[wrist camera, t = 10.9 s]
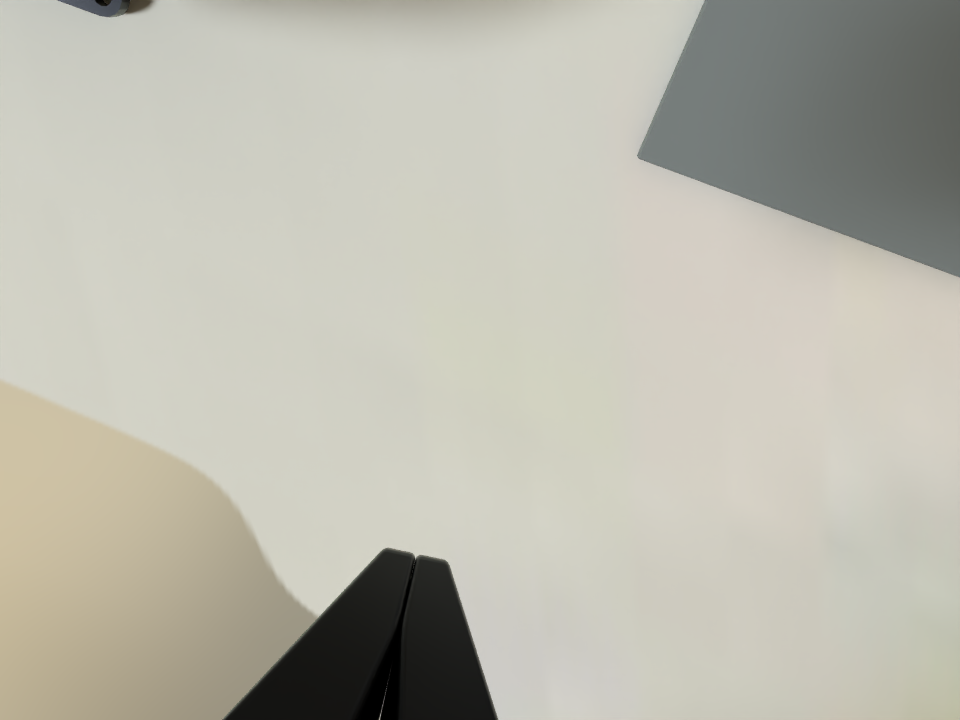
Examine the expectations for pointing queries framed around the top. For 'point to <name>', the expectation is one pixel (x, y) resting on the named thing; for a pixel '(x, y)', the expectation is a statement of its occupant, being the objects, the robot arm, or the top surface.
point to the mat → (825, 116)
